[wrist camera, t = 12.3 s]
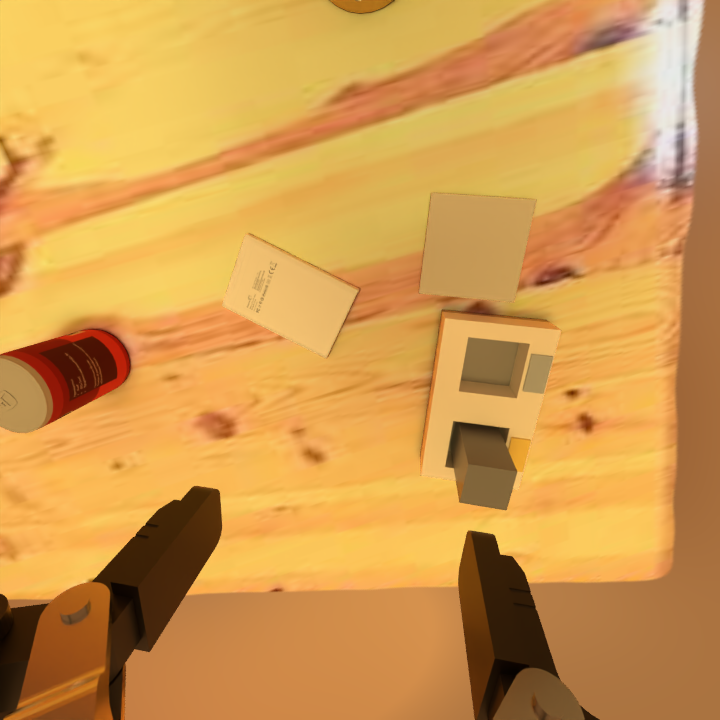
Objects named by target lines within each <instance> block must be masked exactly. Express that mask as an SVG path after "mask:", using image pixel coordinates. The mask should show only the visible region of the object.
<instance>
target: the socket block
mask: <svg viewBox="0 0 720 720" xmlns="http://www.w3.org/2000/svg"><path fill="white" fill-rule="evenodd" d="M560 334H561V330H560V329H559V328H557V327H556V326H554V325H553V324H551V323H550V322H548V321H547V320H541V319H531V318H521V317H511V316H501V315H491V314H481V313H471V312H461V311H451V310H442V313H441V319H440V326H439V333H438V339H437V346H436V353H435V359H434V366H433V373H432V379H431V386H430V393H429V399H428V406H427V412H426V419H425V426H424V432H423V439H422V446H421V452H420V465H421V476H425V477H432V478H439V479H446V480H453V481H456V478H455V473H454V467H453V461H452V455H451V449H450V444H451V439H452V435H453V430H454V425H455V421H457V422H465V423H473V424H480V425H488V426H496V427H498V428H499V430H500V432H501V435H502V437H503V439H504V442H505V444H506V446H507V449H508V451H509V453H510V456H511V458H512V460H513V462H514V465H515V467H516V469H517V475H516V479H515V482H514V486H513V489H514V490H519V487H520V484H521V480H522V476H523V472H524V469H525V465H526V461H527V457H528V454H529V450H530V446H531V442H532V439H533V435H534V431H535V427H536V424H537V420H538V416H539V412H540V409H541V405H542V401H543V397H544V394H545V390H546V386H547V382H548V379H549V375H550V371H551V367H552V364H553V360H554V356H555V353H556V349H557V345H558V341H559V338H560Z"/></svg>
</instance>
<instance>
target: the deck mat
mask: <svg viewBox="0 0 720 720" xmlns="http://www.w3.org/2000/svg"><path fill="white" fill-rule="evenodd" d="M535 204H536V199H521V198H506V197H491V196H476V195H461V194H446V193H431V200H430V208H429V216H428V223H427V231H426V239H425V247H424V255H423V263H422V271H421V279H420V287H419V294H429V295H440V296H450V297H461V298H471V299H482V300H492V301H503V302H513V303H514V301H515V297H516V292H517V288H518V283H519V278H520V274H521V269H522V265H523V260H524V255H525V251H526V246H527V241H528V237H529V232H530V228H531V223H532V218H533V214H534V209H535Z"/></svg>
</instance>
